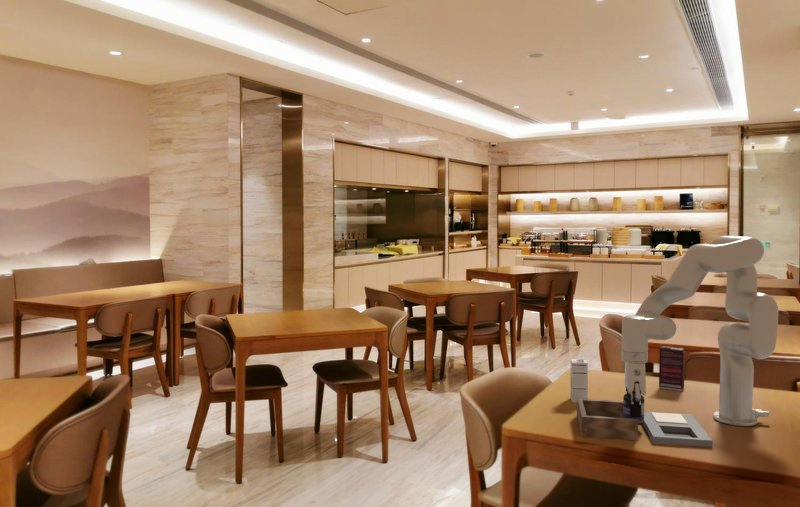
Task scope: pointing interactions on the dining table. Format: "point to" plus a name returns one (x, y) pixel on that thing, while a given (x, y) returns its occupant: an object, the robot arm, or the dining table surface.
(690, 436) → the hole deck
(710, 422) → the dining table surface
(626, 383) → the robot arm
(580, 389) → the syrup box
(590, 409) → the box
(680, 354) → the supplement box
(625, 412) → the pill bottle
